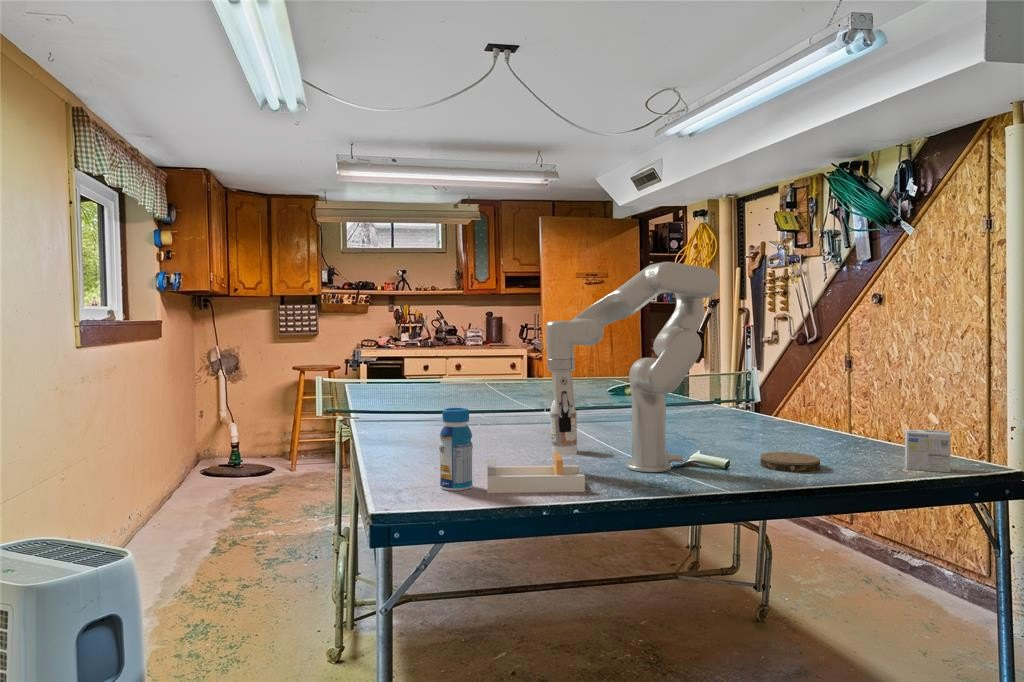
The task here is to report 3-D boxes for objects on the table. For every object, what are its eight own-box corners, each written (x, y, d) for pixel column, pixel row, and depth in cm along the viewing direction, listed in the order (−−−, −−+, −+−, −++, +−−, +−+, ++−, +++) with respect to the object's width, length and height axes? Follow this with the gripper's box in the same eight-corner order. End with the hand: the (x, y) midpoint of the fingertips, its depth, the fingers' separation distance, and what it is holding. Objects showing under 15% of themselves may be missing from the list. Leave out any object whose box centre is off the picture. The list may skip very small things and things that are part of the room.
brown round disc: (756, 460, 200) (756, 451, 200) (812, 463, 197) (812, 453, 197) (765, 472, 185) (765, 461, 185) (826, 474, 182) (826, 464, 181)
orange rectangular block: (559, 476, 173) (559, 453, 173) (563, 484, 165) (563, 460, 165) (553, 476, 173) (553, 453, 173) (556, 484, 165) (556, 460, 165)
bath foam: (562, 457, 178) (559, 383, 178) (547, 453, 184) (544, 382, 183) (582, 453, 182) (579, 381, 182) (566, 449, 188) (563, 379, 187)
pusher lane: (578, 480, 175) (578, 457, 175) (584, 491, 163) (584, 467, 163) (487, 481, 175) (487, 458, 174) (487, 493, 163) (487, 468, 162)
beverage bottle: (468, 492, 163) (467, 411, 163) (435, 490, 165) (434, 411, 164) (476, 484, 172) (475, 407, 171) (444, 482, 173) (444, 406, 173)
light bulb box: (947, 468, 188) (947, 430, 187) (951, 473, 182) (951, 434, 181) (903, 465, 192) (904, 428, 192) (906, 469, 186) (906, 431, 186)
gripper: (578, 367, 174) (581, 434, 174) (570, 362, 191) (573, 423, 192) (550, 368, 174) (553, 435, 174) (544, 363, 191) (547, 425, 192)
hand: (563, 428), depth 183 cm, fingers closed on bath foam, 7 cm apart
